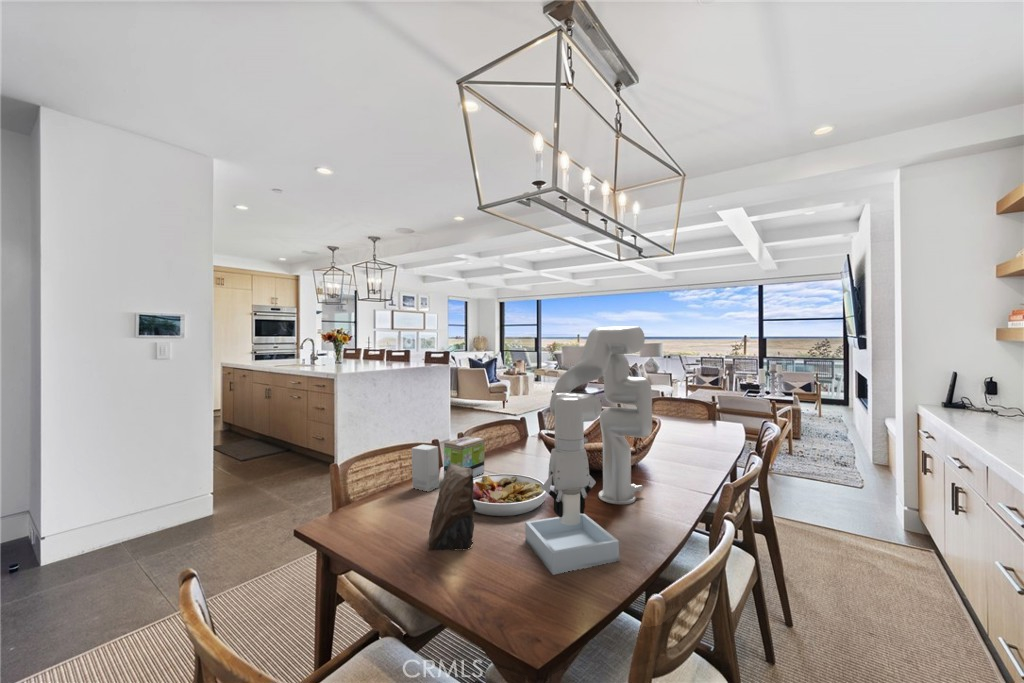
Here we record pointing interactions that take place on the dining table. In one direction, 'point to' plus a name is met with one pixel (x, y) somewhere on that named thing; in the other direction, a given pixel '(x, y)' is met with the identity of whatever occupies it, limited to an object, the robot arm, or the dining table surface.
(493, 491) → the bowl
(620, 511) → the dining table surface
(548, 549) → the tote
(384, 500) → the dining table surface
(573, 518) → the canister
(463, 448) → the tea box
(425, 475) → the skincare box
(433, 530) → the owl
